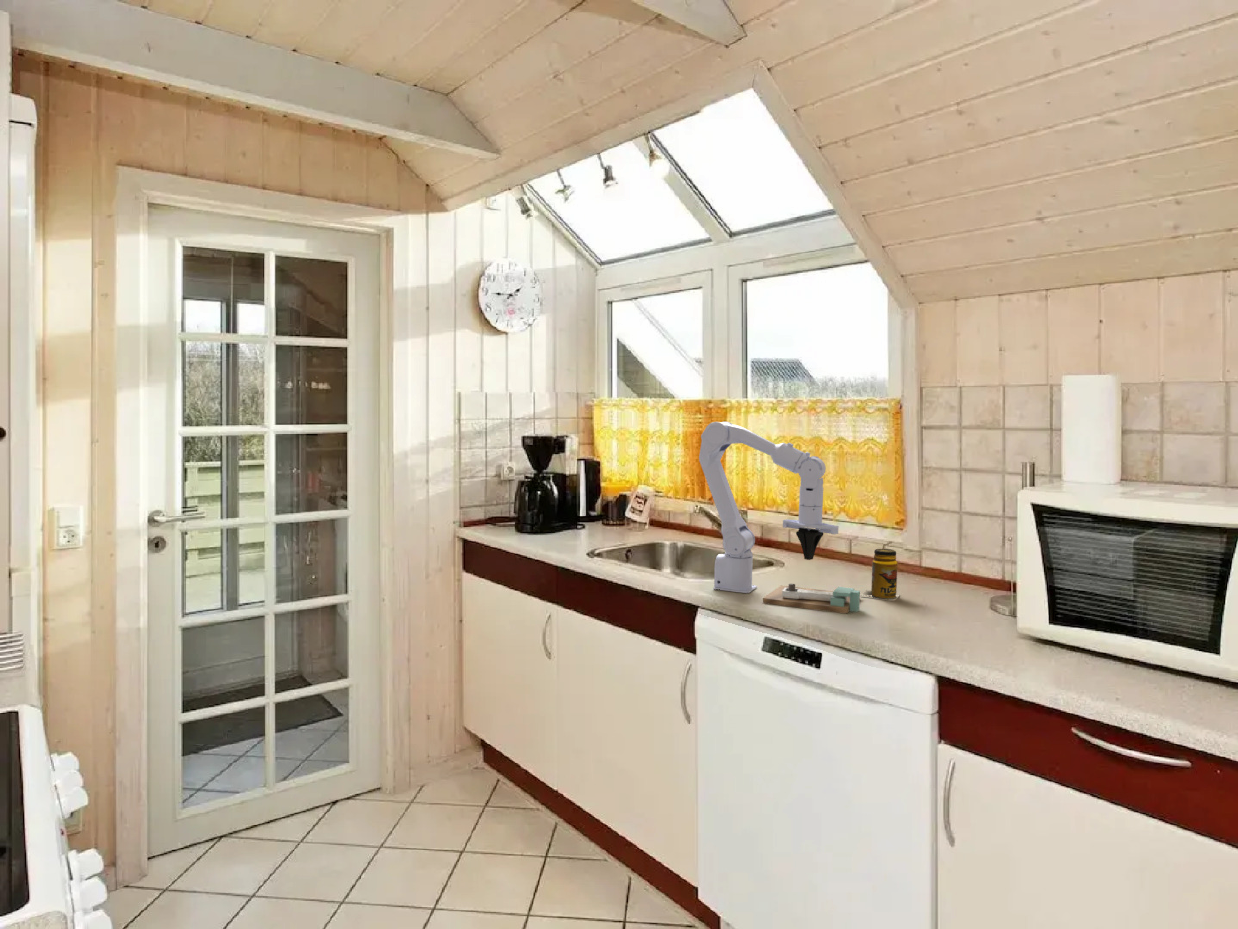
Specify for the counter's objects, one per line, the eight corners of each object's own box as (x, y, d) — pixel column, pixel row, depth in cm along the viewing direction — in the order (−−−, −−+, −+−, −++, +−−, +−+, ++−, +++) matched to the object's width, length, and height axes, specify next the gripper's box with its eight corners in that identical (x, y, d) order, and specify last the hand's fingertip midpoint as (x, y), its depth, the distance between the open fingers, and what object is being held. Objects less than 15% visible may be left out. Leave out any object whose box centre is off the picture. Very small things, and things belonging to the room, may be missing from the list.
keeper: (830, 610, 184) (830, 591, 184) (835, 604, 189) (836, 586, 189) (856, 613, 181) (856, 594, 181) (860, 608, 187) (861, 589, 186)
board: (762, 602, 190) (763, 584, 190) (780, 589, 205) (781, 572, 204) (846, 613, 181) (847, 594, 181) (859, 599, 196) (860, 581, 195)
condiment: (894, 601, 194) (896, 553, 193) (859, 597, 198) (861, 550, 197) (900, 595, 200) (901, 549, 199) (866, 591, 204) (867, 545, 203)
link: (782, 597, 190) (782, 590, 190) (784, 593, 194) (784, 587, 194) (846, 603, 185) (846, 596, 185) (847, 599, 189) (847, 593, 189)
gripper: (777, 503, 198) (775, 556, 199) (829, 509, 188) (827, 565, 189) (791, 501, 203) (789, 553, 204) (843, 507, 193) (841, 561, 194)
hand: (808, 559), depth 197 cm, fingers closed
